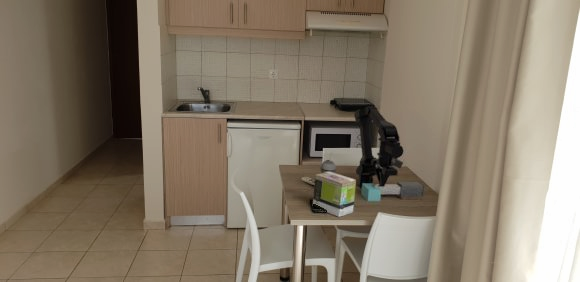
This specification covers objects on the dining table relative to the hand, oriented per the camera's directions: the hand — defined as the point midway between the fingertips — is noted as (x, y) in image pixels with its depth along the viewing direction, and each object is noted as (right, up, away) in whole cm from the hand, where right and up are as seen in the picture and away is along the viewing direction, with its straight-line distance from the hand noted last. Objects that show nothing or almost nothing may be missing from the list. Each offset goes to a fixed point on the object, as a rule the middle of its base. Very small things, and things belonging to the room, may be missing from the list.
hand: (381, 184), depth 211 cm
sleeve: (+14, -7, +4) cm, 16 cm away
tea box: (-24, -9, -17) cm, 31 cm away
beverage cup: (-25, -4, +5) cm, 26 cm away
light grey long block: (+4, -4, +2) cm, 6 cm away
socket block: (-5, -6, +1) cm, 8 cm away
